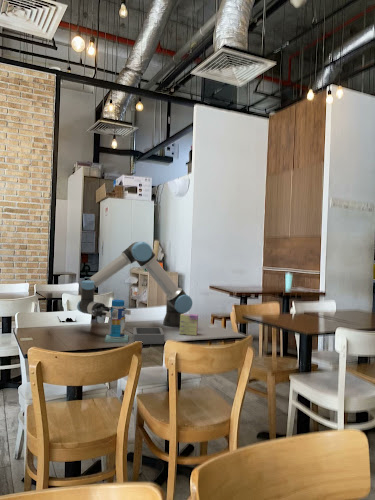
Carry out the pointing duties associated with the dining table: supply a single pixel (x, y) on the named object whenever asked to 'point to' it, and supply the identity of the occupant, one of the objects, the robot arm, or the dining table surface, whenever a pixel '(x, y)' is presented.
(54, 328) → the dining table surface
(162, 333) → the gray rectangular frame
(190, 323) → the box
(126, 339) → the board
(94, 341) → the dining table surface
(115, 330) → the beverage bottle
